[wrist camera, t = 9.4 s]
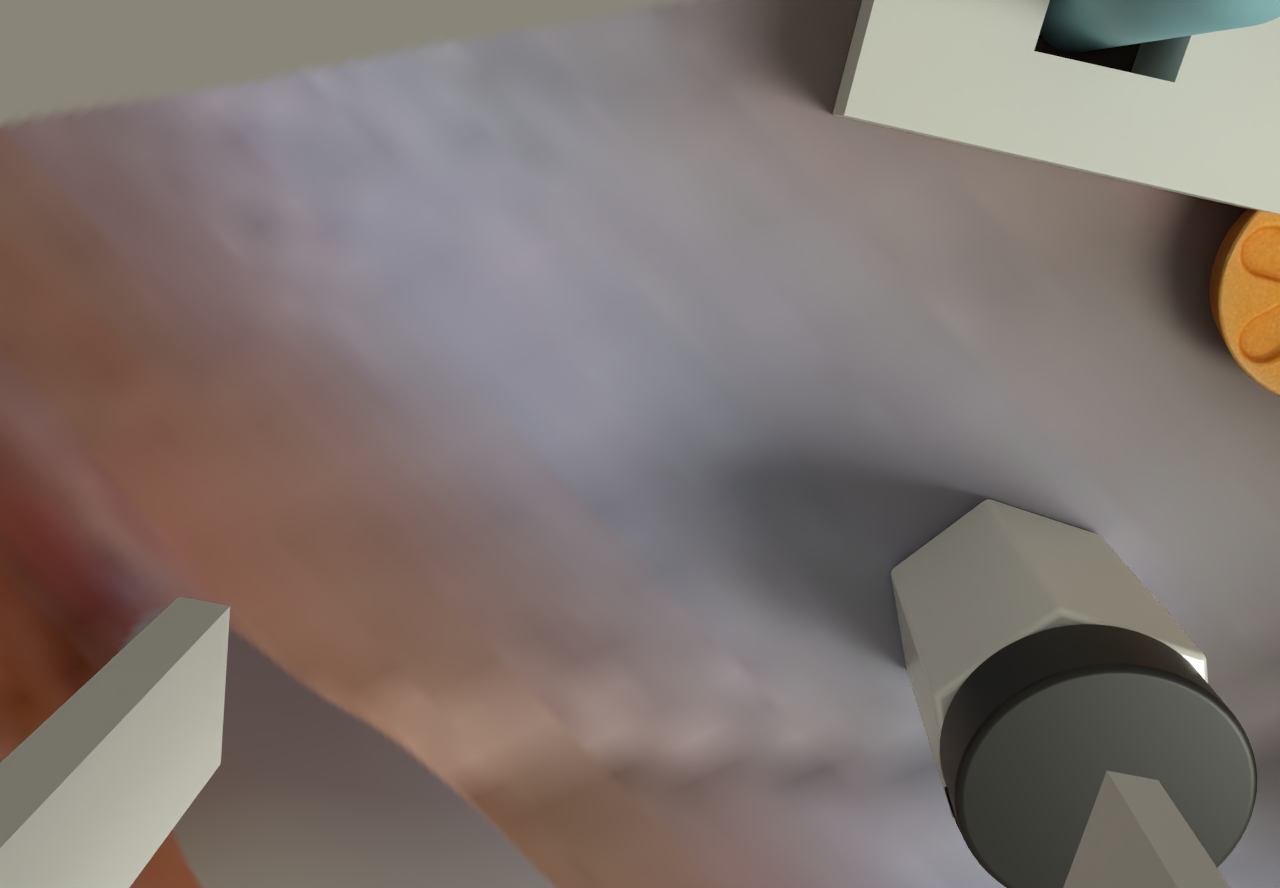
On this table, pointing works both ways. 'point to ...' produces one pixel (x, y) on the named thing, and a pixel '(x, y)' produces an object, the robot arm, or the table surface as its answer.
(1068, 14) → the peg
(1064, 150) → the socket block
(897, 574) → the jar
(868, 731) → the table surface
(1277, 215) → the colourful stacking toy
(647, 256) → the table surface
